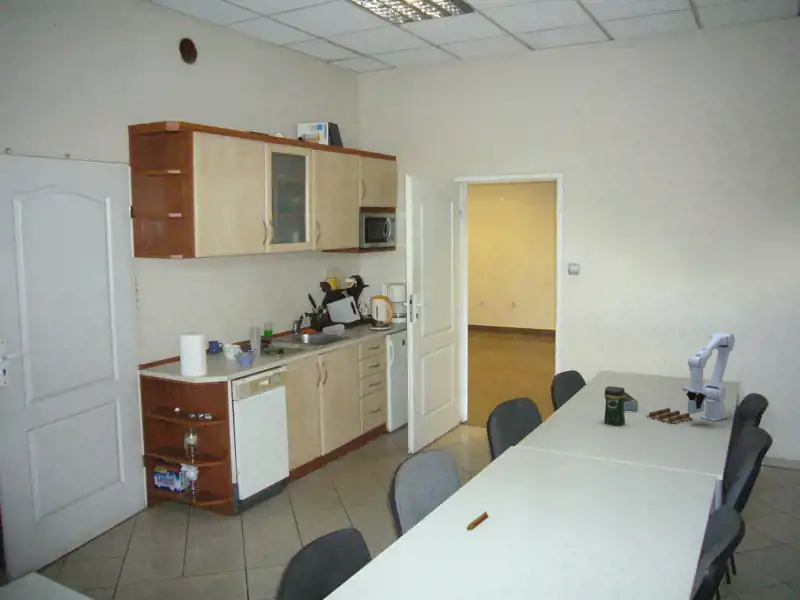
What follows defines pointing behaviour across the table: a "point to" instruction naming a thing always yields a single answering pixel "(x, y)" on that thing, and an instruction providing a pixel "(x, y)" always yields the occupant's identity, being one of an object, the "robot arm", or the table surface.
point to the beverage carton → (630, 403)
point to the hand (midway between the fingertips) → (695, 407)
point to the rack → (669, 416)
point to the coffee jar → (614, 405)
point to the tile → (694, 407)
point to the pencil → (478, 521)
